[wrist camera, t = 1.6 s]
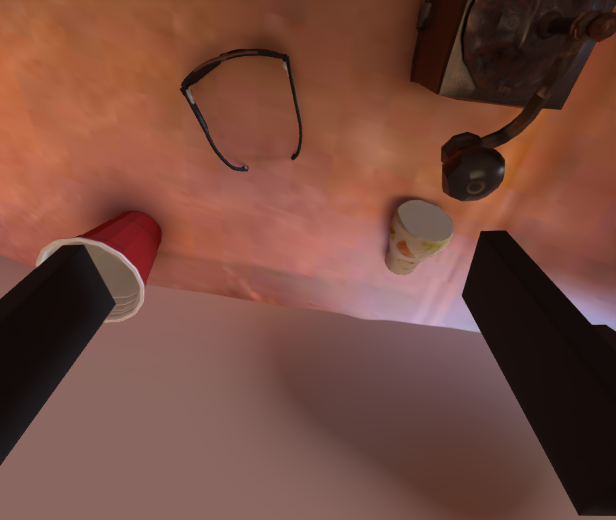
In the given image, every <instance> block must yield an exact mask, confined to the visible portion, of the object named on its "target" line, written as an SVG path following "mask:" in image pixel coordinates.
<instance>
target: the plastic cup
mask: <svg viewBox="0 0 616 520" xmlns="http://www.w3.org/2000/svg"><path fill="white" fill-rule="evenodd" d="M160 242H161V230H160V227H159V225H158V224H157V223H156V221H155V220H154V219H153V218H152V217H150V216H148V215H146V214H145V213H142V212H137V211H130V212H126V213H122V214H121V215H119V216H117V217H116V218H114V219H111V220H109V221H107V222H105V223H103V224H101V225H99V226H98V227H96V228H94V229H92V230H90V231H88V232H87V233H85V234H83V235H79V236H77V237H74V238H66V239H58V240H55V241H54V242H52V243H51V244H49V245H48V246H46V247H44V248H43V249H42V250H41V252H40V255H39V257H38V259H37V262H36V267H38V266H39V265H40V264H41V263H42V262H44V261H45V260H46V259H47V258H48V257H49V256H50V255H52V254H53V253H54V252H55V251H56V250H57V249H59V248H60V247H61V246H62V245H83V244H84V245H85V247H86V249H87V251H88V253H89V254H90V256H91V258H92V260H93V262H94V264H95V265H96V267H97V269H98V271H99V273H100V275H101V277H102V278H103V280H104V282H105V284H106V286H107V288H108V290H109V291H110V293H111V295H112V297H113V299H114V301H115V302H116V305H115V307H114V308H113V309H112V311H111V312H110V313H109V315H108V316H107V318H106V319H105V320H104V322H103V323H106V322H118V321H123V320H125V319H127V318H129V317H131V316H133V315H135V314H136V313H137V311H138V310H139V308H140V307H141V306H142V304H143V302H144V290H145V285H146V283H147V278H148V276H149V273H150V270H151V268H152V265H153V263H154V260H155V257H156V255H157V250H158V247H159V245H160Z"/></svg>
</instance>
